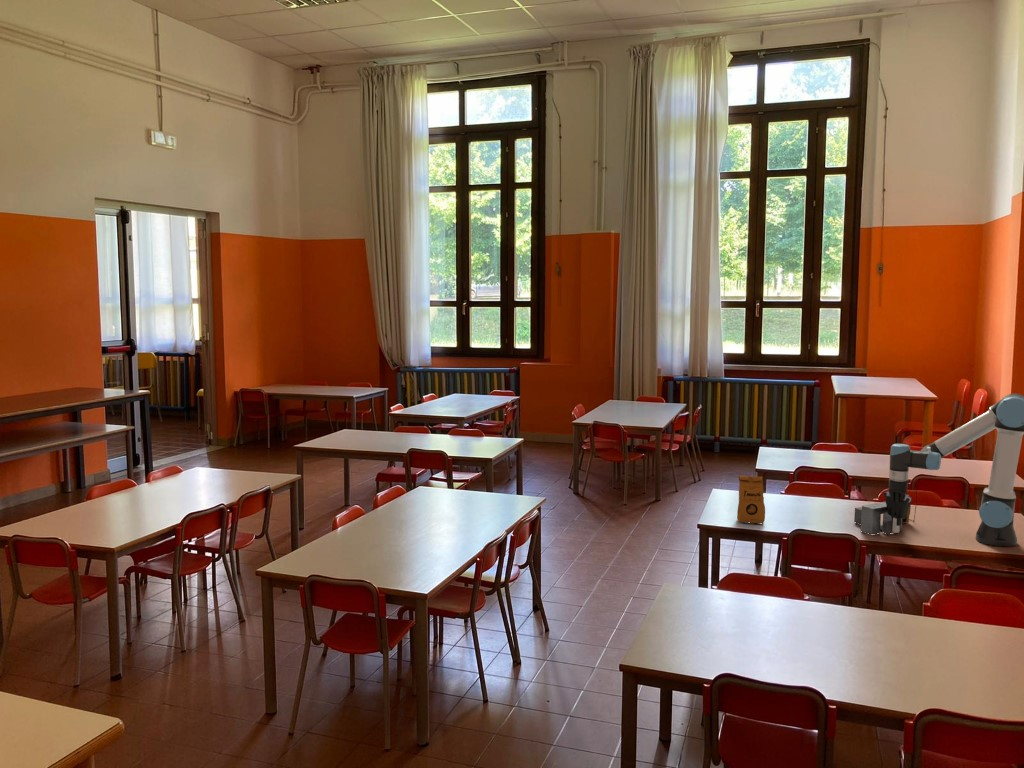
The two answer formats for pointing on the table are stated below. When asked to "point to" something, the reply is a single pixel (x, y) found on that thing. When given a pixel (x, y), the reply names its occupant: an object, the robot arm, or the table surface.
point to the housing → (874, 517)
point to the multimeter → (906, 519)
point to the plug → (885, 527)
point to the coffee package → (751, 500)
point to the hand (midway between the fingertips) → (895, 532)
